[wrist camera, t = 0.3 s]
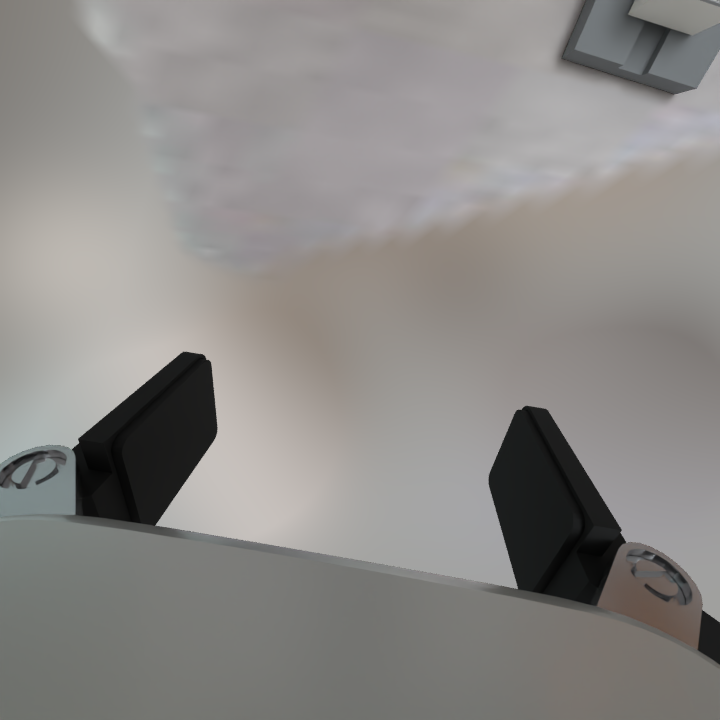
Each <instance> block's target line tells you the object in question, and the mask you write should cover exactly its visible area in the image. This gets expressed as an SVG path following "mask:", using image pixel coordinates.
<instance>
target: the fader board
mask: <svg viewBox="0 0 720 720" xmlns="http://www.w3.org/2000/svg"><path fill="white" fill-rule="evenodd" d="M634 1H635V0H586V2H585V4H584V7H583V9H582V12H581V14H580V16H579V19H578V21H577V23H576V26H575V28H574V31H573V33H572V35H571V38H570V40H569V42H568V45H567V47H566V49H565V52H564V54H563V57H562V59H566V60H569V61H572V62H575V63H578V64H581V65H584V66H588V67H591V68H594V69H597V70H600V71H603V72H607V73H610V74H613V75H616V76H619V77H622V78H626V79H629V80H632V81H635V82H638V83H641V84H645V85H648V86H651V87H654V88H657V89H660V90H664V91H667V92H670V93H673V94H678V93H682V92H685V91H689V90H692V89H696V88H697V87H698V85H699V84H700V82H701V80H702V78H703V77H704V75H705V73H706V72H707V70H708V68H709V67H710V65H711V63H712V62H713V60H714V58H715V56H716V55H717V53H718V51H719V50H720V23H719V24H716V25H714V26H712V27H710V28H708V29H706V30H703V31H701V32H699V33H697V34H695V35H689V34H686V33H683V32H680V31H677V30H674V29H671V28H668V27H664V26H661V25H658V24H655V23H652V22H649V21H646V20H643V19H640V18H637V17H634V16H630V15H628V13H629V11H630V9H631V7H632V5H633V3H634Z"/></svg>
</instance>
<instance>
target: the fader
mask: <svg viewBox="0 0 720 720" xmlns="http://www.w3.org/2000/svg"><path fill="white" fill-rule="evenodd" d="M628 15H630V16H634V17H637V18H640V19H643V20H646V21H649V22H652V23H655V24H658V25H661V26H664V27H668V28H671V29H674V30H677V31H680V32H683V33H686V34H689V35H695V34H697V33H699V32H701V31H703V30H706V29H708V28H710V27H712V26H714V25H716V24H719V23H720V0H635V1H634V3H633V5H632V7H631V9H630V11H629V13H628Z"/></svg>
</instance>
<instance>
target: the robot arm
mask: <svg viewBox="0 0 720 720" xmlns="http://www.w3.org/2000/svg"><path fill="white" fill-rule="evenodd" d="M216 434H217V419H216V408H215V398H214V388H213V377H212V367H211V362H210V361H209V360H206V358H205V356H204V355H203V354H196V353H190V352H183V353H181V354H180V355H179V356H177V357H176V358H175V359H174V360H173V361H171V362H170V363H169V364H168V365H167V366H165V367H164V368H163V369H162V370H160V371H159V372H158V373H157V374H156V375H155V376H153V377H152V378H151V379H150V380H149V381H147V382H146V383H145V384H144V385H142V386H141V387H140V388H139V389H138V390H137V391H135V392H134V393H133V394H132V395H130V396H129V397H128V398H127V399H126V400H125V401H123V402H122V403H121V404H120V405H118V406H117V407H116V408H115V409H114V410H113V411H111V412H110V413H109V414H108V415H106V416H105V417H104V418H103V419H102V420H100V421H99V422H98V423H97V424H96V425H94V426H93V427H92V428H91V429H90V430H88V431H87V432H86V433H85V434H83V435H82V436H81V437H80V438H79V439H78V440H79V444H78V445H76V446H75V447H74V448H73V449H72V450H71V449H70V448H68V447H65V446H61V445H46V446H41V447H35V448H32V449H29V450H26V451H23V452H21V453H19V454H16V455H14V456H12V457H10V458H8V459H7V460H5V461H4V462H2V463H1V464H0V720H720V622H718V621H717V620H715V619H714V618H713V617H711V616H710V615H708V614H707V613H705V612H704V611H703V610H702V605H703V604H702V597H701V594H700V592H699V590H698V588H697V586H696V584H695V583H694V581H693V580H692V579H691V578H690V576H689V575H688V574H687V573H686V572H685V571H684V570H683V569H682V568H681V567H680V566H679V565H678V564H677V563H676V562H674V561H673V560H672V559H670V558H669V557H668V556H666V555H665V554H663V553H662V552H660V551H658V550H655V549H654V548H652V547H650V546H647V545H644V544H641V543H633V542H628V543H626V541H625V540H624V538H623V536H622V535H621V533H620V532H621V528H620V527H619V525H618V523H617V522H616V520H615V519H614V517H613V515H612V514H611V512H610V510H609V509H608V507H607V506H606V504H605V502H604V501H603V499H602V497H601V496H600V494H599V492H598V491H597V489H596V488H595V486H594V484H593V483H592V481H591V479H590V478H589V476H588V475H587V473H586V472H585V470H584V468H583V467H582V465H581V463H580V462H579V460H578V459H577V457H576V455H575V454H574V452H573V450H572V449H571V447H570V446H569V444H568V442H567V441H566V439H565V437H564V436H563V434H562V433H561V431H560V429H559V428H558V426H557V425H556V423H555V421H554V420H553V418H552V416H551V415H550V413H549V412H548V410H546V409H542V408H537V407H530V406H525V407H523V409H522V410H517V411H516V412H515V414H514V417H513V419H512V422H511V424H510V426H509V429H508V431H507V433H506V436H505V438H504V440H503V443H502V446H501V448H500V450H499V452H498V455H497V457H496V460H495V462H494V464H493V467H492V469H491V471H490V474H489V487H490V491H491V494H492V498H493V501H494V505H495V508H496V512H497V515H498V519H499V522H500V526H501V530H502V533H503V536H504V540H505V543H506V547H507V550H508V554H509V558H510V561H511V564H512V568H513V572H514V575H515V579H516V582H517V586H518V589H514V588H509V587H504V586H498V585H494V584H488V583H483V582H477V581H472V580H466V579H461V578H455V577H450V576H444V575H438V574H433V573H427V572H421V571H416V570H411V569H405V568H400V567H394V566H388V565H383V564H376V563H371V562H365V561H360V560H354V559H348V558H343V557H337V556H331V555H326V554H320V553H314V552H308V551H302V550H296V549H291V548H285V547H279V546H273V545H267V544H261V543H256V542H250V541H243V540H238V539H232V538H226V537H220V536H214V535H208V534H202V533H196V532H191V531H184V530H179V529H172V528H167V527H160V526H155V525H156V523H157V522H158V521H159V519H160V518H161V516H162V515H163V513H164V512H165V510H166V509H167V508H168V506H169V504H170V503H171V502H172V500H173V498H174V497H175V496H176V495H177V493H178V492H179V490H180V489H181V487H182V486H183V484H184V483H185V482H186V480H187V479H188V477H189V476H190V474H191V473H192V471H193V470H194V468H195V467H196V466H197V464H198V463H199V461H200V460H201V458H202V457H203V456H204V454H205V453H206V451H207V450H208V448H209V447H210V445H211V444H212V443H213V441H214V439H215V437H216Z"/></svg>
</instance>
